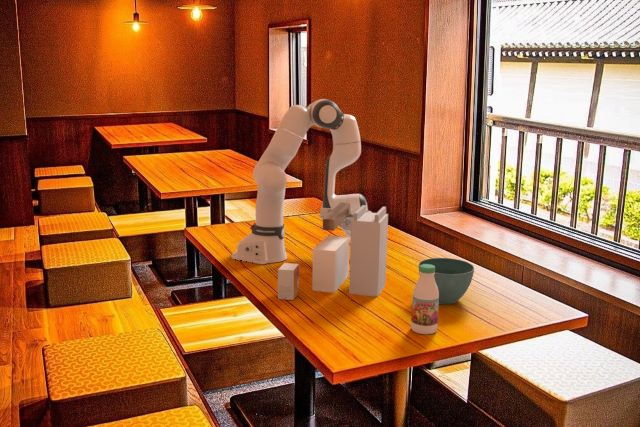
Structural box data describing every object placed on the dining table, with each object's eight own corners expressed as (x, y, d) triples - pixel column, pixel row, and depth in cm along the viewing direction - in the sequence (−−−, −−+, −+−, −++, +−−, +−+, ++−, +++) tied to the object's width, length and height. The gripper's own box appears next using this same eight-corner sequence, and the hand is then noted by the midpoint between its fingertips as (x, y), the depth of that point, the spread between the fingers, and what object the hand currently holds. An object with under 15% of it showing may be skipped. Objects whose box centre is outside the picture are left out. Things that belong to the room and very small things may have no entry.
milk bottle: (408, 325, 200) (411, 262, 196) (433, 324, 201) (437, 261, 197) (414, 335, 193) (417, 270, 189) (440, 334, 194) (443, 269, 189)
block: (312, 290, 230) (312, 249, 227) (327, 273, 249) (328, 235, 246) (334, 292, 228) (335, 251, 225) (348, 275, 247) (349, 237, 243)
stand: (349, 293, 227) (351, 213, 221) (358, 281, 241) (360, 204, 234) (377, 296, 225) (380, 215, 218) (385, 284, 238) (388, 207, 232)
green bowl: (460, 314, 210) (462, 277, 208) (408, 302, 220) (409, 267, 217) (479, 297, 225) (481, 263, 223) (429, 288, 235) (431, 254, 232)
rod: (322, 229, 229) (322, 218, 228) (340, 212, 251) (340, 202, 250) (333, 230, 228) (333, 219, 227) (350, 213, 250) (350, 203, 249)
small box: (293, 300, 220) (293, 270, 218) (277, 299, 221) (277, 269, 219) (299, 292, 228) (299, 263, 225) (283, 291, 229) (283, 262, 226)
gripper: (325, 211, 262) (316, 200, 249) (375, 214, 256) (369, 203, 244) (322, 226, 260) (314, 215, 247) (373, 230, 255) (367, 219, 242)
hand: (342, 209), depth 245 cm, fingers closed on rod, 4 cm apart
